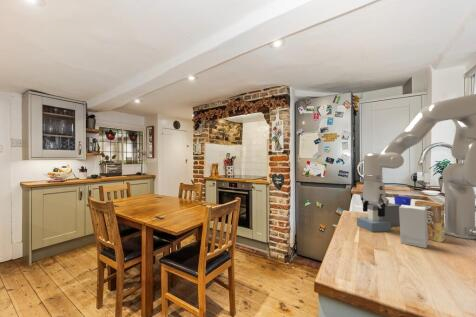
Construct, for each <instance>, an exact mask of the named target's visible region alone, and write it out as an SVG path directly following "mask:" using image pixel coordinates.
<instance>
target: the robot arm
mask: <svg viewBox="0 0 476 317" xmlns="http://www.w3.org/2000/svg"><path fill="white" fill-rule="evenodd" d="M450 120H451V121H452V122H453V124H454V125H455V134H454V139H453V143H452V148H451V156H452V157H453V158H454V159H456V160H460V161H463V162H458V163H457V162H455V163H450V164H448V165H447V166H446V165H445V167H444V168H443V170H442V173H441V174H442V176H441V177H442V183H443V186H444V235H448V236H451V237H453V238H454V237H456V238H461V239H468V240H476V192H475V189H474V188H476V93H475V94H474V93H473V94H467V95H463V96H458V97H454V98H449V99H445V100H441V101H436V102H433V103H430V104H428V105H426V106H424V107H422V108H421V109H420V110H419V111H418V112H417V114H415V116H414V117H413V118H412V119H411V121H410V122H409V123H408V124H407V125H406V126H405V127H404V129H403V130H402V131H401V132H400V133H399V134H398V135H397V136H396V137H394V139H393V140H392V141H391V142H389V143H388V144H387V145H386V147H385V148H384V149H383V150H382V152H381V153H378V152H376V153H370V152H369V153H365V154H364V156H363V163H364V164H363V166H364V167H363V168H364V169H363V172H364V174H363V175H364V176H363V177H364V178H363V184H362V185H363V186H362V192H361V193H359V196H360V200H361V204H362V211H363V212H365V213H368V205H369V202H373V203H377V205H378V207H379V208H378V216H379V217H384V216H385V208H386V206H387V205H388V203H390V199H388V198H387V193H386V186H385V182H383V179H384V178H383V168H384V169H385V168H386V169H391V170H392V169H399V168H400V167H403V165H404V162H405V159H404V157H403V155H402V154H403V153H404V152H406V151H407V150H408V149H410V148H411V147H414V146H415V145H417V144H419V143H420V142H421V141H422V140H424V139H425V137H426V136H427V135H428V134H429V133H430V131H431V130H432V129H433V128H434V127H435V126H436V125H437V124H438V123H441V122H443V121H450ZM381 204H382V205H381Z"/></svg>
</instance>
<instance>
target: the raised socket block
mask: <svg viewBox="0 0 476 317" xmlns="http://www.w3.org/2000/svg"><path fill="white" fill-rule="evenodd" d="M369 205H377V203H373V202H369ZM381 205H382V204H381ZM377 206H378V205H377ZM399 207H400V205H397V204H395V203H392V202H388V205H387V206H386V208H385V216H384V217H379V218H380V219H383V220H386V221H388V222H391V227H392V226H400V216H399Z"/></svg>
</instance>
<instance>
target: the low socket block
mask: <svg viewBox="0 0 476 317" xmlns="http://www.w3.org/2000/svg"><path fill="white" fill-rule="evenodd" d="M356 226H358V227H360V228H361V229H364V230H366V231H369V232H371V233H374V232H375V233H376V232H377V233H378V232H391V231H392V226H391V222H388V221H386V220H383V219H380V218H379V221H370V220H368V216H364V217H363V216H362V217H361V216H359V217H356Z"/></svg>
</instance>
